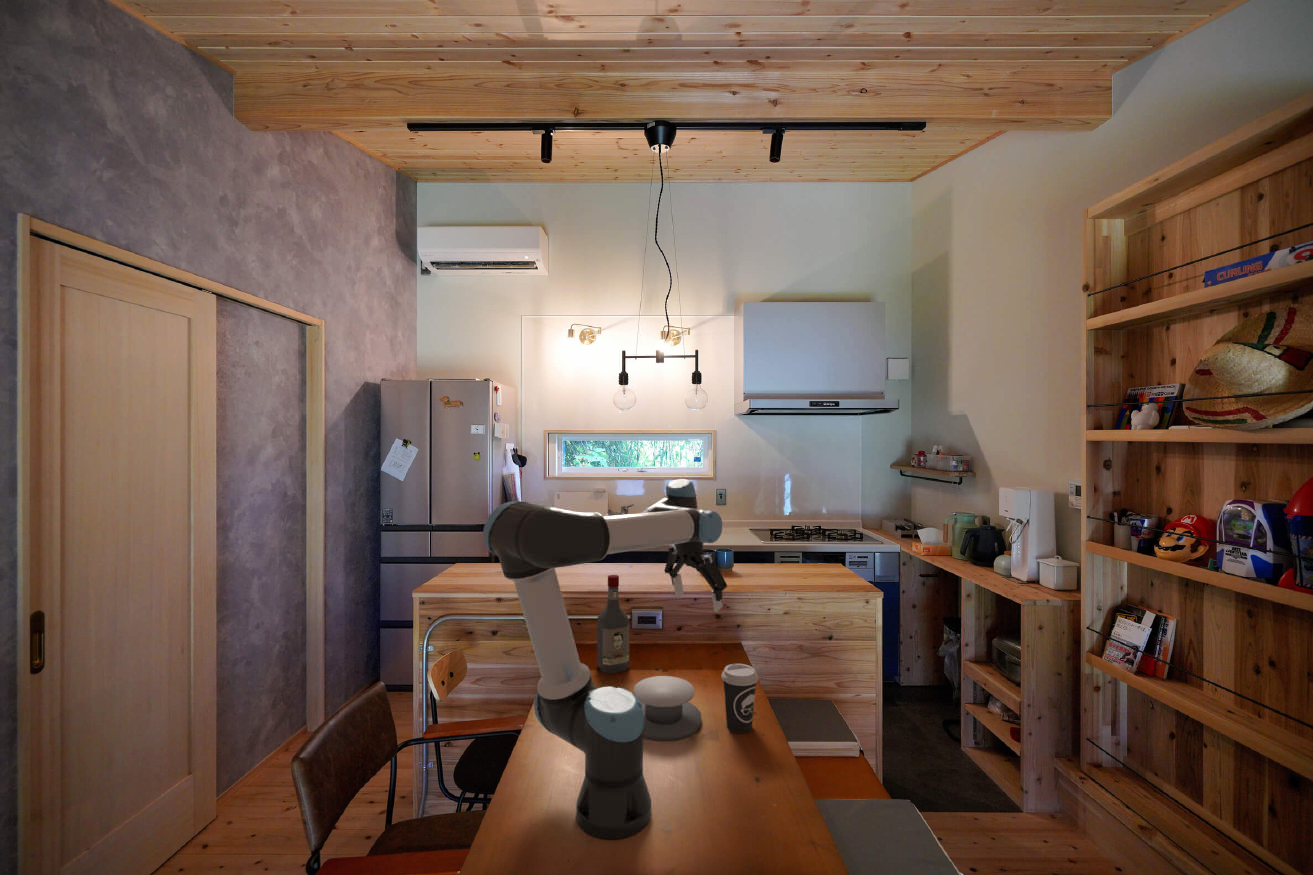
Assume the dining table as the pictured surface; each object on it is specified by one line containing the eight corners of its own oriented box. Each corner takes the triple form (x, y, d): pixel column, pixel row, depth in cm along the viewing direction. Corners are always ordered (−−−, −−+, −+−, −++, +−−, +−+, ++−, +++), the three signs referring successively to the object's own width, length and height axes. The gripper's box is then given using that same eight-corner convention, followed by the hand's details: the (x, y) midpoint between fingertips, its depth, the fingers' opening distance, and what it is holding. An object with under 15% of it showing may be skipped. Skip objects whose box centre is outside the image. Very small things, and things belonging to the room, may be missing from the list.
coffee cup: (756, 718, 153) (756, 663, 152) (759, 737, 143) (759, 678, 143) (720, 716, 154) (721, 661, 153) (721, 735, 144) (721, 676, 144)
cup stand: (698, 743, 140) (698, 709, 140) (619, 737, 143) (619, 703, 143) (703, 705, 160) (703, 675, 160) (634, 700, 163) (634, 670, 163)
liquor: (595, 664, 187) (595, 574, 187) (620, 660, 191) (621, 571, 191) (604, 675, 179) (604, 581, 179) (631, 670, 183) (631, 578, 183)
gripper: (734, 538, 146) (743, 607, 153) (662, 520, 163) (673, 583, 169) (717, 552, 141) (727, 623, 148) (644, 531, 158) (656, 596, 164)
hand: (698, 602), depth 159 cm, fingers open, 13 cm apart
